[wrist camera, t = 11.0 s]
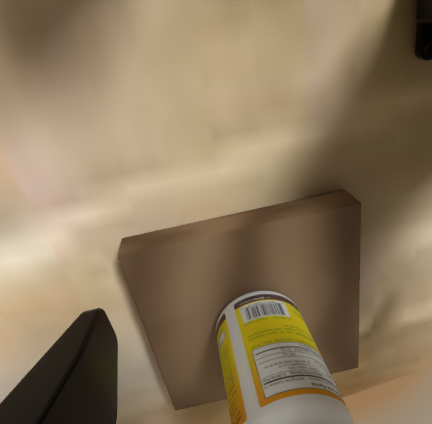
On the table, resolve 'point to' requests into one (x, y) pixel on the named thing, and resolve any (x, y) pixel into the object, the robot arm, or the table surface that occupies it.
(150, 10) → the table surface
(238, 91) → the table surface
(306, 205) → the walnut block
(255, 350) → the supplement bottle
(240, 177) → the table surface
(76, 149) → the table surface
